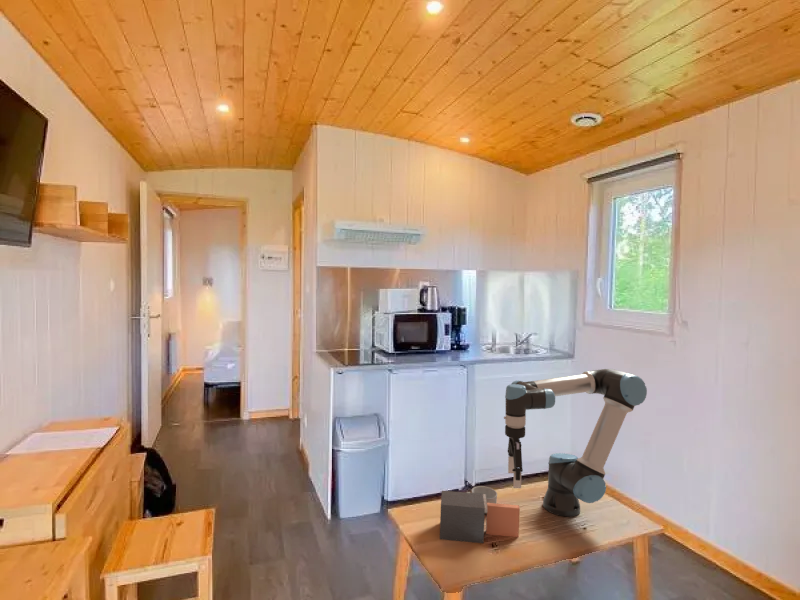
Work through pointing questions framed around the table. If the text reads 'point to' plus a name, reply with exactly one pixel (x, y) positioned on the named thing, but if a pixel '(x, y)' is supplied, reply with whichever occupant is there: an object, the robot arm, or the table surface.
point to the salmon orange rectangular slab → (502, 519)
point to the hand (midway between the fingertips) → (514, 480)
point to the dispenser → (462, 516)
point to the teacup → (490, 493)
